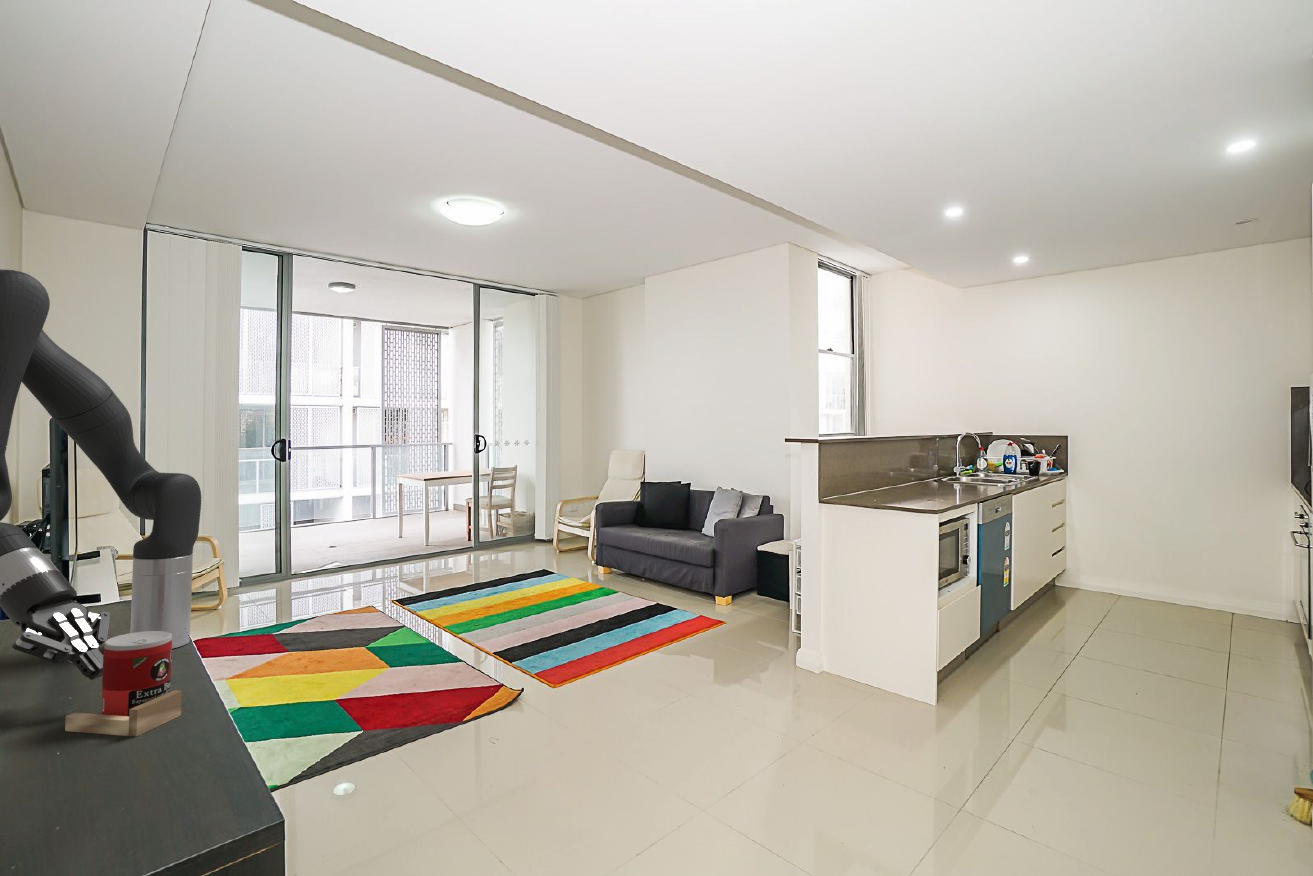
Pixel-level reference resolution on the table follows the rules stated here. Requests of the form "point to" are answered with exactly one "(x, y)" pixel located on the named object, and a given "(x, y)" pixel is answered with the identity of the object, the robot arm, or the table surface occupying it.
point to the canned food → (135, 670)
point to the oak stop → (129, 718)
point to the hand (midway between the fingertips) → (101, 674)
